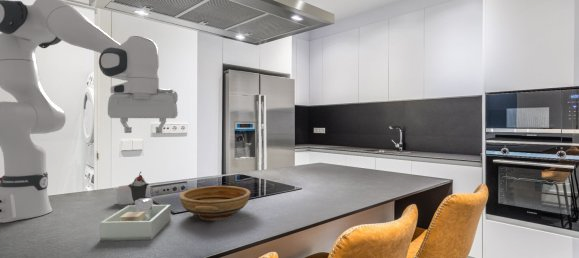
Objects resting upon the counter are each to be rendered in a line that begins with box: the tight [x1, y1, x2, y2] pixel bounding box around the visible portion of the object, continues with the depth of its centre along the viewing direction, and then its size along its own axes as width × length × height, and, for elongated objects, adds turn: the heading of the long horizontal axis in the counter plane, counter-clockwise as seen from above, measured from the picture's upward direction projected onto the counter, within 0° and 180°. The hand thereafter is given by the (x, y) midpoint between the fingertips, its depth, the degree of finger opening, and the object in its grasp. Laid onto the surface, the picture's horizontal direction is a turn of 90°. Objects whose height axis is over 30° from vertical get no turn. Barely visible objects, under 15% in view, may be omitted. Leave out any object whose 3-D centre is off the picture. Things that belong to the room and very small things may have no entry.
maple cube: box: [120, 212, 145, 221], centre depth 89 cm, size 5×5×5 cm
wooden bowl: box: [178, 185, 252, 221], centre depth 108 cm, size 30×24×8 cm
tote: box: [99, 204, 172, 242], centre depth 93 cm, size 18×14×5 cm
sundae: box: [127, 171, 150, 202], centre depth 111 cm, size 7×7×15 cm
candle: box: [113, 184, 135, 206], centre depth 124 cm, size 9×9×6 cm
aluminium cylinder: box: [134, 197, 154, 221], centre depth 97 cm, size 5×5×7 cm
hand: (143, 132), depth 97 cm, fingers open, 8 cm apart
